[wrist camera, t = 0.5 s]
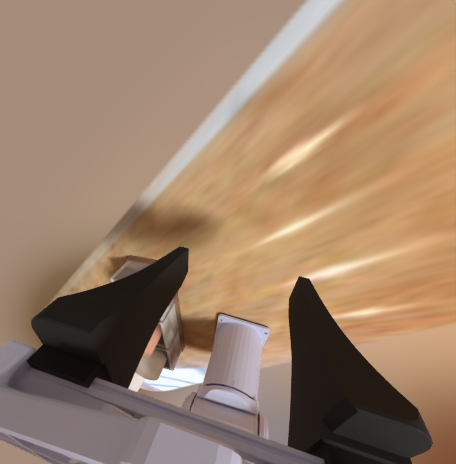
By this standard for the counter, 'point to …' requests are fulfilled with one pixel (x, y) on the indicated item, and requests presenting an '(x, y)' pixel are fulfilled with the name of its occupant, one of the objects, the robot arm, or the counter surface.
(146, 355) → the middle knob
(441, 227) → the counter surface
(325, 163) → the counter surface
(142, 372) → the knob
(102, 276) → the counter surface
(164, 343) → the mount
